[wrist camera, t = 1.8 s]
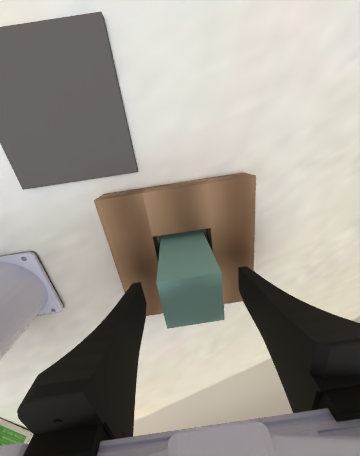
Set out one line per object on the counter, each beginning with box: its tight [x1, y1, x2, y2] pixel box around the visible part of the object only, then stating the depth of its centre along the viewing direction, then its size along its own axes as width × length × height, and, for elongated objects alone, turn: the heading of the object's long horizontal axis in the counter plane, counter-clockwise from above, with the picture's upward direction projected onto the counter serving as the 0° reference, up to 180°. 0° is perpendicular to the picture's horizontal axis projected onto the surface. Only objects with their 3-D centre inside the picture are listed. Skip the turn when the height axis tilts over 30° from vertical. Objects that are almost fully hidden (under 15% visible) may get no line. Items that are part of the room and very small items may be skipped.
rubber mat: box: [0, 12, 138, 189], centre depth 14 cm, size 10×10×1 cm
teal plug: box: [156, 229, 224, 328], centre depth 15 cm, size 4×4×8 cm
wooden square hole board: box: [94, 173, 256, 316], centre depth 18 cm, size 13×13×2 cm
